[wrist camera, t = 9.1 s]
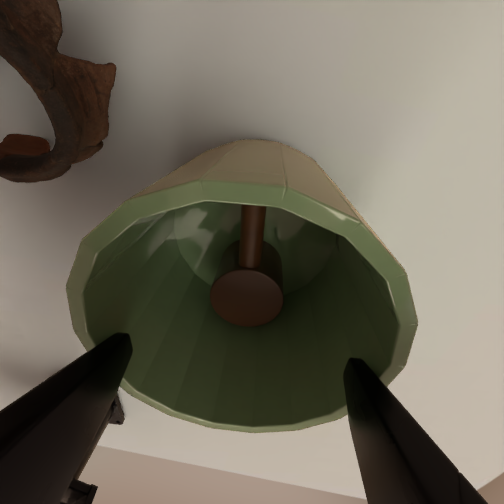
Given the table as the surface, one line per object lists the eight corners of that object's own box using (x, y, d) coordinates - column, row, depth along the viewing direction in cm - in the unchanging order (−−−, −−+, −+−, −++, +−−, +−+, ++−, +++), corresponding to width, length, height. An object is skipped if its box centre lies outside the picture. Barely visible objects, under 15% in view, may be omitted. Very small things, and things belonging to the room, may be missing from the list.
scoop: (278, 291, 17) (278, 330, 14) (221, 285, 17) (210, 323, 14) (296, 170, 13) (303, 189, 10) (222, 164, 13) (206, 181, 10)
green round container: (323, 305, 18) (358, 446, 10) (176, 290, 18) (108, 416, 11) (367, 147, 12) (503, 204, 5) (158, 131, 13) (1, 162, 5)
